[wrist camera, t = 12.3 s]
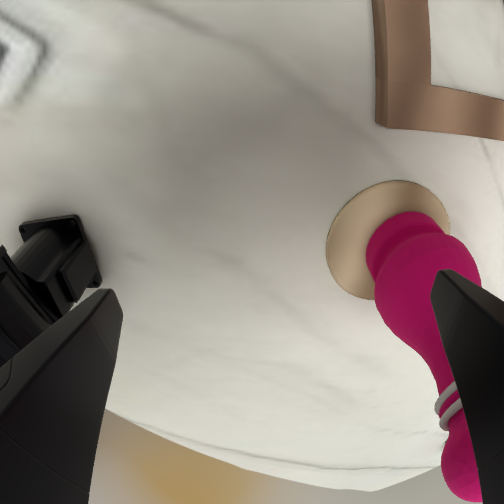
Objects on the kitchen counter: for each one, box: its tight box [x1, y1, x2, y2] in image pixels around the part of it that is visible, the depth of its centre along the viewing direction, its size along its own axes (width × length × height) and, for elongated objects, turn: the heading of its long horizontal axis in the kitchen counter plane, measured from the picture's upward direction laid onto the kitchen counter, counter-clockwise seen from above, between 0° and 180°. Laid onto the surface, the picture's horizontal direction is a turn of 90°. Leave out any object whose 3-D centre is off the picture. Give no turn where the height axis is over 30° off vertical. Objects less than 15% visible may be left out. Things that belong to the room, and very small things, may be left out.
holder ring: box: [372, 0, 504, 141], centre depth 13 cm, size 14×14×2 cm
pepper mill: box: [366, 212, 483, 502], centre depth 14 cm, size 7×7×20 cm
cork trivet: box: [326, 181, 450, 300], centre depth 22 cm, size 10×10×1 cm
